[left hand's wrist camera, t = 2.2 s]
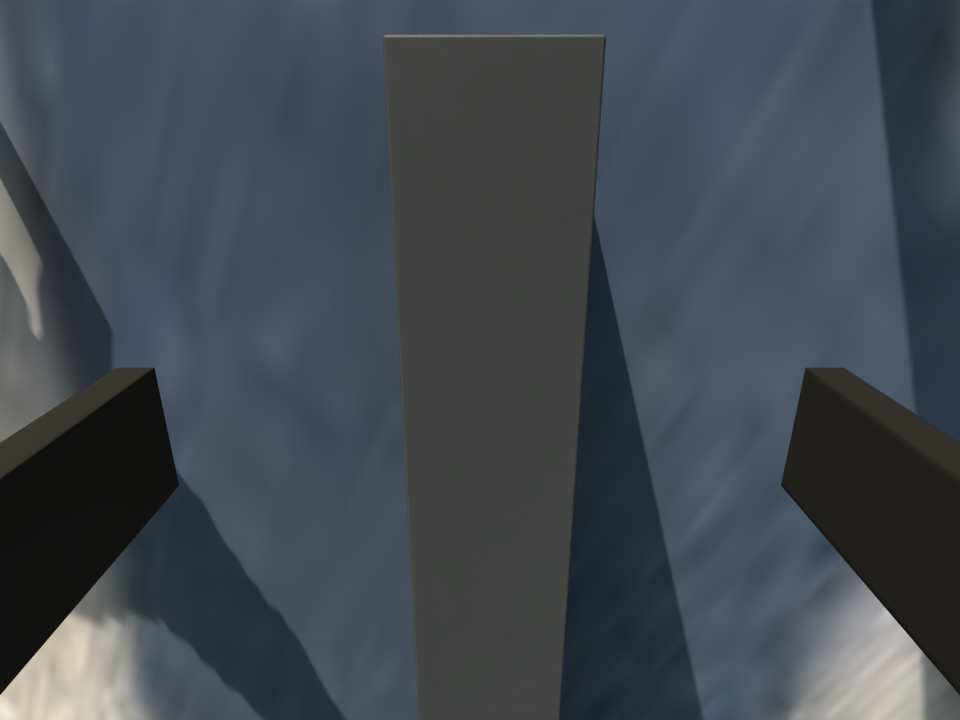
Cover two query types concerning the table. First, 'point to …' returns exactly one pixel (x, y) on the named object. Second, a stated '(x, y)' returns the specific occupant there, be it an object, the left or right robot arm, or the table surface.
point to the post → (491, 351)
